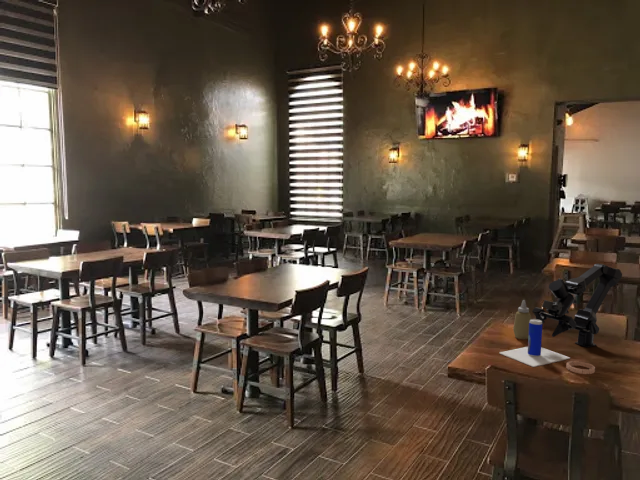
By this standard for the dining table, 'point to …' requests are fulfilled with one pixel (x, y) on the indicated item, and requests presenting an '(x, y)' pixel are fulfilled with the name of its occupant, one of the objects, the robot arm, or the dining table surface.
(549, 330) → the dining table surface
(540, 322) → the beverage can
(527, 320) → the squeeze bottle
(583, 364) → the terracotta ring
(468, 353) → the dining table surface
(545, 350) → the grey mat
